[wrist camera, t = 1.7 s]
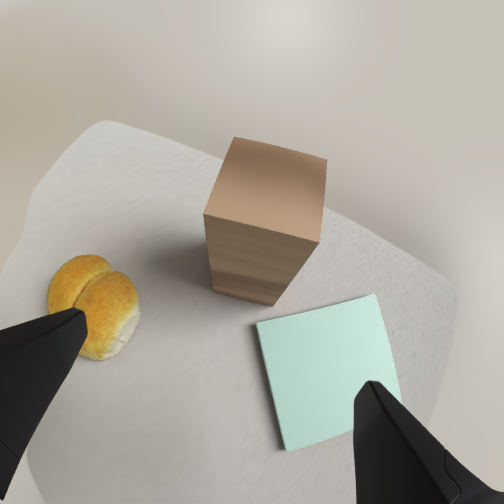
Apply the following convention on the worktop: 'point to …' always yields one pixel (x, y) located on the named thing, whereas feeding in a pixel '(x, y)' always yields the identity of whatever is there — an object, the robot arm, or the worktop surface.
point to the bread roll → (97, 303)
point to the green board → (324, 367)
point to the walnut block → (263, 219)
